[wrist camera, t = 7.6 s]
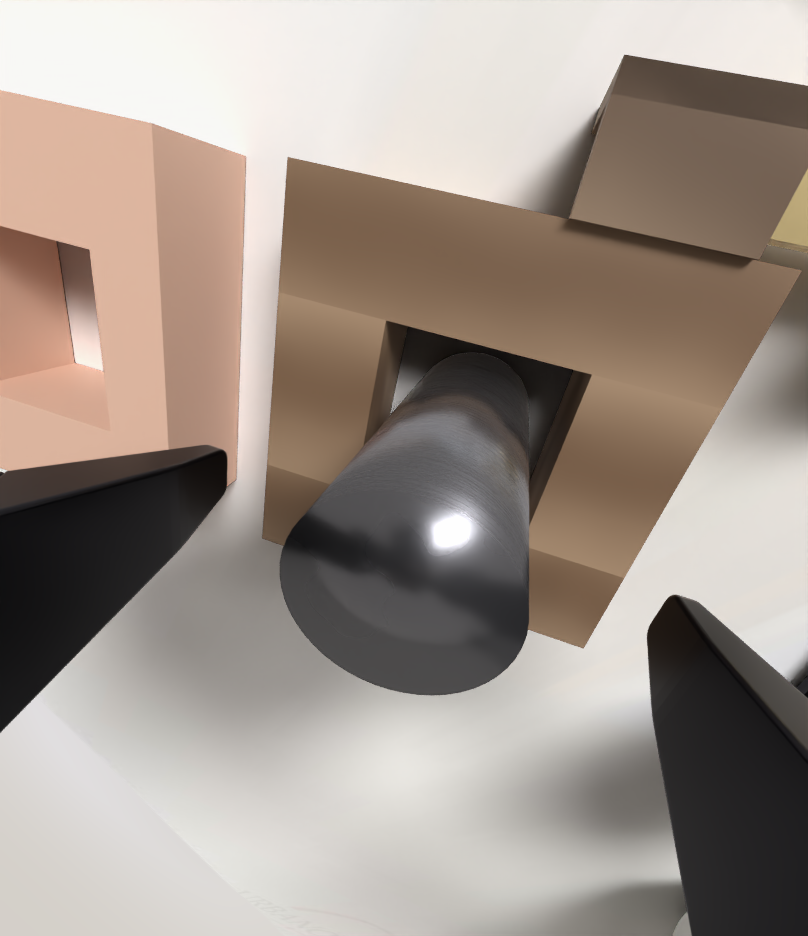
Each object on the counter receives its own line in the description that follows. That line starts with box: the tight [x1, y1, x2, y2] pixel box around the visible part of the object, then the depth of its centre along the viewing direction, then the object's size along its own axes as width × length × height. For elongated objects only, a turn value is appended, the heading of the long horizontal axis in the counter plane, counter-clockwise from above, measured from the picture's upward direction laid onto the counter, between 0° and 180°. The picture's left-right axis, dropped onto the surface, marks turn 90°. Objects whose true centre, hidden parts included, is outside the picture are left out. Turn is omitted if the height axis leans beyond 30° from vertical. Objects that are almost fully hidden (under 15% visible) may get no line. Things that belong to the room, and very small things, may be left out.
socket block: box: [262, 55, 808, 648], centre depth 14 cm, size 15×12×3 cm
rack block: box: [0, 90, 246, 486], centre depth 16 cm, size 12×10×4 cm
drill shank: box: [280, 352, 529, 695], centre depth 11 cm, size 4×4×10 cm
